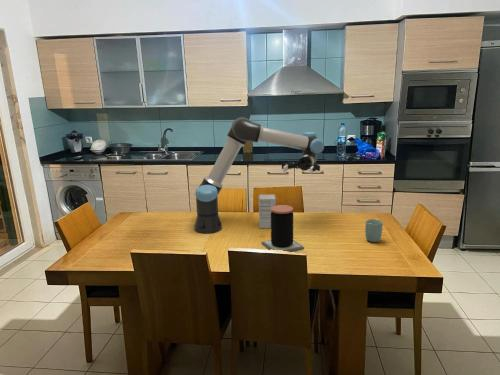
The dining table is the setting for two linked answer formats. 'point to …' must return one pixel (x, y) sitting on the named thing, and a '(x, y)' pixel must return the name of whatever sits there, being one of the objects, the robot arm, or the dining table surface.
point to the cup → (373, 230)
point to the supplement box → (265, 210)
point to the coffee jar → (282, 226)
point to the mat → (293, 247)
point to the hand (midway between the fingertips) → (297, 170)
